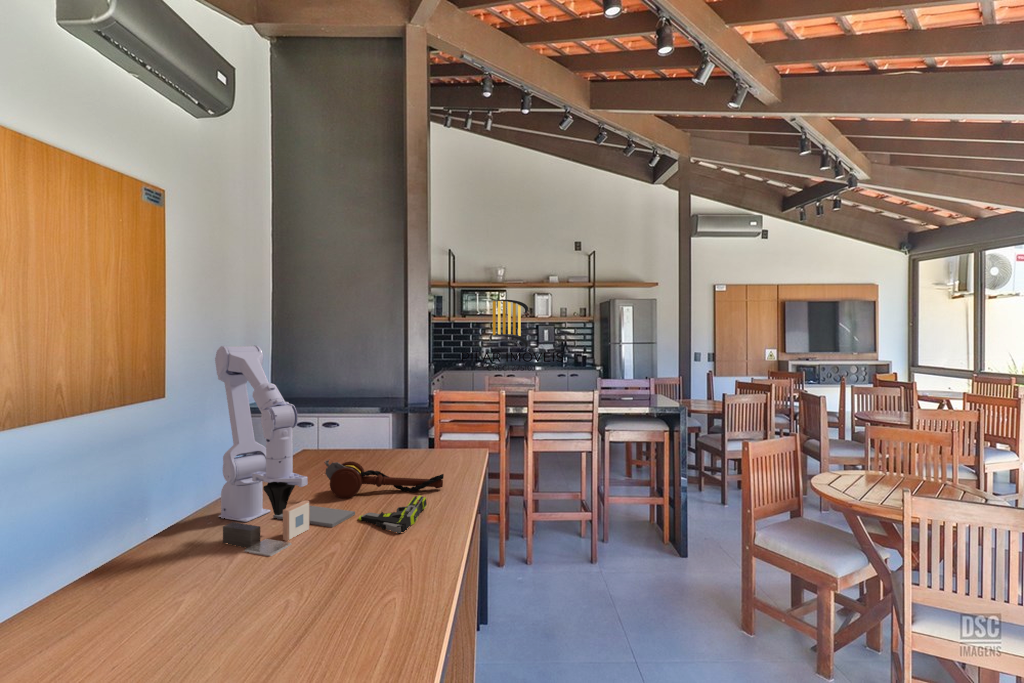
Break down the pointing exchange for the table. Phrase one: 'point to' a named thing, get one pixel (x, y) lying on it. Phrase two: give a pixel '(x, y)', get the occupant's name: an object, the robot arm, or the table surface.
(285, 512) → the block
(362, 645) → the table surface
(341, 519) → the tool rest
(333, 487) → the gavel
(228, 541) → the turner
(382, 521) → the toy gun
